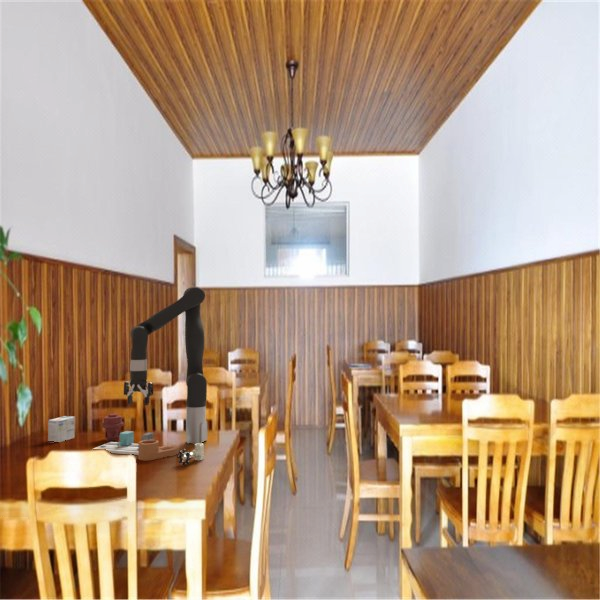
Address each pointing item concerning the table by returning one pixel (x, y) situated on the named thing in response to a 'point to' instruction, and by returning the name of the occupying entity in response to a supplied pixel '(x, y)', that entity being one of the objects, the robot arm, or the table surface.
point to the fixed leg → (147, 436)
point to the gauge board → (123, 449)
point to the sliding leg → (126, 438)
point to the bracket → (155, 450)
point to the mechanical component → (112, 426)
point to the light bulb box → (61, 428)
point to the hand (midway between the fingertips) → (138, 404)
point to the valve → (192, 454)
